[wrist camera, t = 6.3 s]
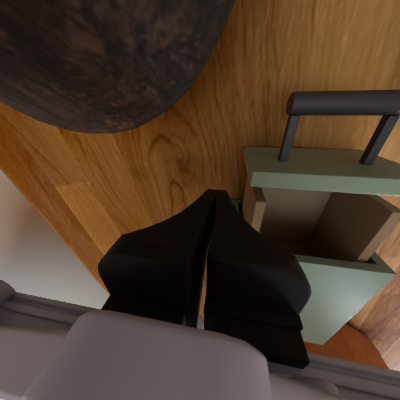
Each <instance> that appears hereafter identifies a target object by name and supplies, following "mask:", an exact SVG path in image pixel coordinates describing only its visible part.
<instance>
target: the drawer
mask: <svg viewBox="0 0 400 400" xmlns="http://www.w3.org/2000/svg"><path fill="white" fill-rule="evenodd" d="M286 114H287V115H289V117H288V121H287V125H286V129H285V133H284V137H283V141H282V145H281V148H278V147H245V148H244V155H243V157H244V162H245V166H246V170H247V179H246V185H245V192H244V198H243V204H242V211H241V216H242V217H243V218H244V219H245V220H246V221H247V222H248V223H249V224H250V225H251V226H252V227H253V228H254V229H255V230H256V231H258V232H259V233H260V234H261V235H263V236H264V237H265V238H267V239H268V240H270V241H271V242H273V243H274V244H276V245H277V246H279V247H281V248H282V249H284V250H286V251H287V252H289V253H291V254H295V255H303V256H311V257H319V258H328V259H336V260H344V261H352V262H360V263H366V262H367V260H368V259H369V258H370V257H371V256H372V254H373V253H374V252H375V251H376V250H377V248H378V247H379V246H380V245H381V243H382V242H383V241H384V240H385V239H386V237H387V236H388V235H389V234H390V233H391V231H392V230H393V229H394V228H395V227H396V225H397V224H398V223H399V222H400V209H399V208H397V207H395V206H394V205H392V204H391V203H389V202H387V201H386V200H384V199H383V198H381V197H379V196H378V195H387V196H400V164H399V163H396V162H393V161H390V160H388V159H385V158H382V157H379V156H377V155H378V154H379V152H380V150H381V148H382V147H383V145H384V143H385V141H386V140H387V138H388V136H389V134H390V133H391V131H392V129H393V127H394V126H395V124H396V122H397V120H398V119H399V117H400V116H397V115H400V90H362V91H309V92H292V93H291V95H290V97H289V99H288V102H287V106H286ZM299 115H384V116H383V117H382V119H381V120H380V122H379V124H378V126H377V128H376V130H375V132H374V134H373V136H372V138H371V140H370V141H369V143H368V145H367V147H366V149H365V151H362V150H344V149H311V148H291V145H292V142H293V138H294V135H295V131H296V128H297V124H298V121H299V117H300V116H299Z"/></svg>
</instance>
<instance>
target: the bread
mask: <svg viewBox="0 0 400 400" xmlns="http://www.w3.org/2000/svg"><path fill="white" fill-rule="evenodd" d="M304 344H305V348H306V351H307V353H312V354H317V355H322V356H327V357H332V358H336V359H341V360H346V361H351V362H356V363H361V364H365V365H370V366H375V367H380V368H385V369H389V368H388V367H387V365H386V364H385V362H384V360H383V359H382V357H381V355H380V353H379V351H378V350H377V349H376V348H375V346H374V345H373V344H372V342H371V341H370V340H369V339H368V338H367V337H366V336H364V335H363V334H362V333H360V332H359V331H357V330H355V329H354V328H352V327H350V326H349V325H347V324H344V325H343V326H342V327H341V328H340V329H339V330H338V331H337V332H336V333H335V334H334V335H333V336H332V337H331V338H330V339H329V340H328V341H326V342H325V343H324V344H323V345H320V344H315V343H310V342H305V341H304Z"/></svg>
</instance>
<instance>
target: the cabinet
mask: <svg viewBox="0 0 400 400" xmlns="http://www.w3.org/2000/svg"><path fill="white" fill-rule="evenodd" d="M232 203H233V204H234V206H235V207H236V209H237V210H238V212H239V213H240V214H241V211H242V204H243V200H234V199H233V200H232ZM292 255H294V256H295V257H296V258H297V260H298V262H299V264H300V265H301V267H302V269H303V271H304V273H305V275H306V277H307V279H308V282H309V284H310V286H311V292H312V294H311V296H310V299H309V301H308V302H307V304H306V305H305V307H304V308H303V310H302V311H301V313H300V314H299V315H300V318H301V322H302V325H303V330H302V331H301V334H302V338H303V341H305V342H310V343H315V344H320V345H323V344H324V343H325V342H326V341H328V340H329V339H330V338H331V337H332V336H333V335H334V334H335V333H336V332H337V331H338V330H339V329H340V328H341V327H342V326H343V325H344V324H345V323H346V322H347V321H348V320H349V319H351V318H352V317H353V316H354V315H355V314H356V313H357V312H358V311H359V310H360V309H361V308H362V307H363V306H364V305H365V304H366V303H367V302H368V301H369V300H370V299H371V298H373V297H374V296H375V295H376V294H377V293H378V292H379V291H380V290H381V289H382V288H383V287H384V286H385V285H386V284H387V283H388V282H389V281H390V280H391V279H392V278H393V277H394V276H396V273H395V272H394V271H393V270H392V269H391V268H390V267H389V266H388V265H387V264H386V263H385V262H384V261H383V260H382V259H381V258H380V257H379V256H378V255H377V254H376V253H375V252H374V253H373V254H372V256H371V257H370V258H369V259H368V260H367V262H366V263H360V262H352V261H344V260H336V259H328V258H319V257H311V256H303V255H295V254H292Z"/></svg>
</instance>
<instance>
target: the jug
mask: <svg viewBox="0 0 400 400" xmlns="http://www.w3.org/2000/svg"><path fill="white" fill-rule="evenodd" d="M234 1H235V0H0V101H1V102H2V103H4V104H6V105H8V106H10V107H11V108H13V109H15V110H17V111H19V112H22V113H24V114H26V115H28V116H30V117H32V118H34V119H36V120H38V121H41V122H44V123H47V124H50V125H53V126H56V127H60V128H63V129H66V130H71V131H77V132H83V133H117V132H122V131H126V130H131V129H135V128H137V127H139V126H141V125H143V124H145V123H147V122H149V121H150V120H152V119H153V118H155V117H157V116H158V115H160V114H162V113H163V112H165V111H166V110H167V109H168V108H169V107H170V106H171V105H172V104H173V103H175V102H176V101H177V100H178V99H179V98H180V97H181V96H182V95H183V94H184V93H185V92H186V91H187V90H188V89H189V88H190V86H191V84H192V83H193V81H194V80H195V78H196V77H197V75H198V74H199V72H200V71H201V69H202V68H203V66H204V65H205V63H206V61H207V59H208V57H209V56H210V54H211V52H212V50H213V48H214V46H215V44H216V42H217V40H218V38H219V36H220V34H221V32H222V29H223V27H224V25H225V23H226V20H227V18H228V16H229V14H230V11H231V9H232V7H233V4H234Z"/></svg>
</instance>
